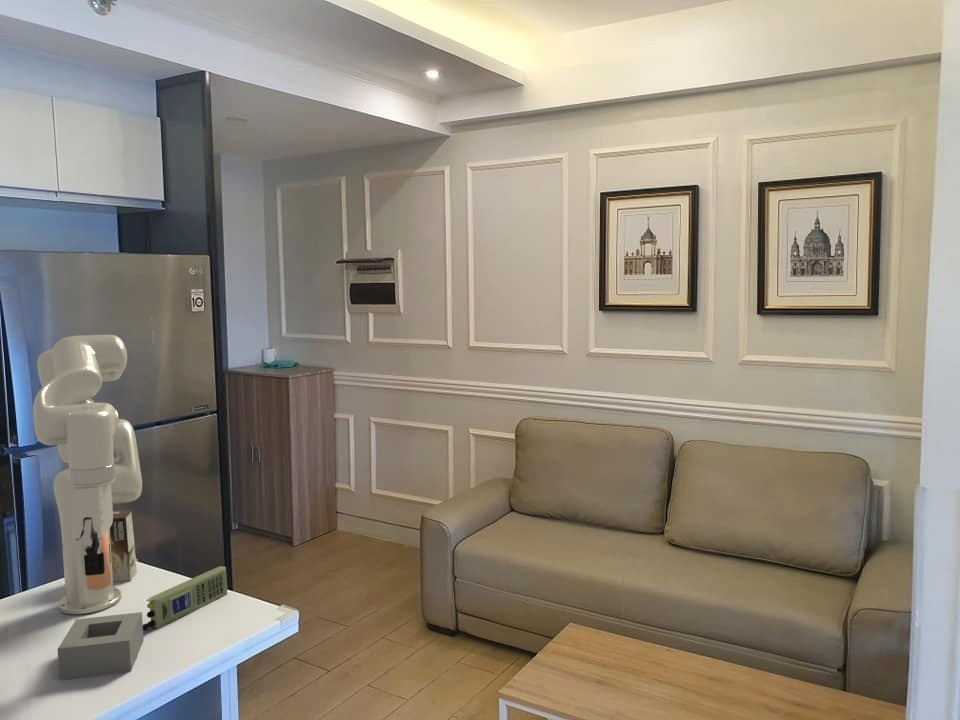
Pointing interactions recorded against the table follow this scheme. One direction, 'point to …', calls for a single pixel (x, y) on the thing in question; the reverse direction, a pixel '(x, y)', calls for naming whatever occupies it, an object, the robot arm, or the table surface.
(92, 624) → the socket block
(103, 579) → the peg
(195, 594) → the handheld radio
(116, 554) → the coffee box
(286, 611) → the table surface
